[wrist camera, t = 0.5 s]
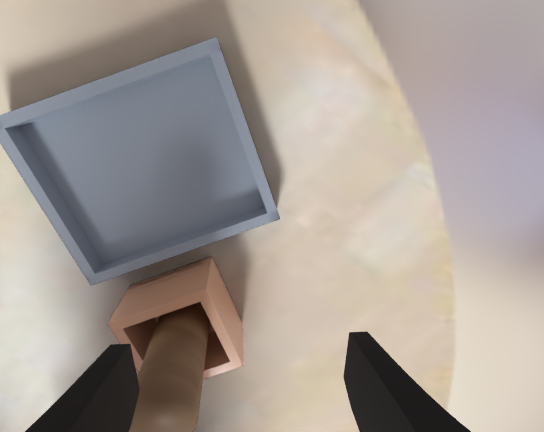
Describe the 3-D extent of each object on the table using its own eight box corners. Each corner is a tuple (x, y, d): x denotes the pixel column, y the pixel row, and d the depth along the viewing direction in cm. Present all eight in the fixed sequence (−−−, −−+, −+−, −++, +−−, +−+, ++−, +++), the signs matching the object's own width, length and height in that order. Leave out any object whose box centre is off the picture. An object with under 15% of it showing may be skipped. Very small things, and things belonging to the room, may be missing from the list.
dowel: (175, 335, 22) (143, 454, 15) (154, 299, 21) (109, 407, 14) (218, 320, 22) (208, 431, 15) (200, 283, 21) (179, 382, 14)
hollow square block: (167, 349, 23) (154, 396, 19) (130, 285, 21) (107, 324, 17) (242, 323, 23) (243, 365, 19) (211, 256, 21) (206, 289, 17)
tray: (102, 270, 21) (90, 285, 19) (10, 118, 17) (-15, 120, 16) (276, 209, 21) (280, 218, 19) (218, 43, 17) (216, 36, 15)
